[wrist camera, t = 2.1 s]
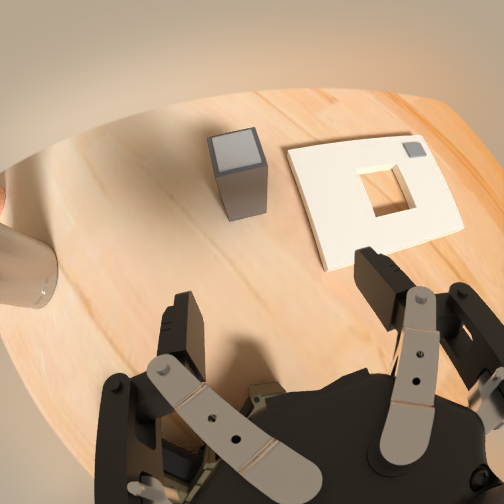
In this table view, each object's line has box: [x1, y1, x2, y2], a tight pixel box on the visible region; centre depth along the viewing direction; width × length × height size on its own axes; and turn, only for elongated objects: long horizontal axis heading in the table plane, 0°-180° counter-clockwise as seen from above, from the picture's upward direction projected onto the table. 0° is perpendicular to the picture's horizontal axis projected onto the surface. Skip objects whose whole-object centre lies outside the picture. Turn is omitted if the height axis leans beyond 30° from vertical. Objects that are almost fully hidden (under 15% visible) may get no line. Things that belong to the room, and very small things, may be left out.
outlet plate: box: [287, 135, 464, 272], centre depth 28 cm, size 20×14×2 cm
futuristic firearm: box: [161, 382, 287, 504], centre depth 19 cm, size 7×31×25 cm
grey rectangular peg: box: [207, 127, 268, 222], centre depth 24 cm, size 4×4×10 cm
